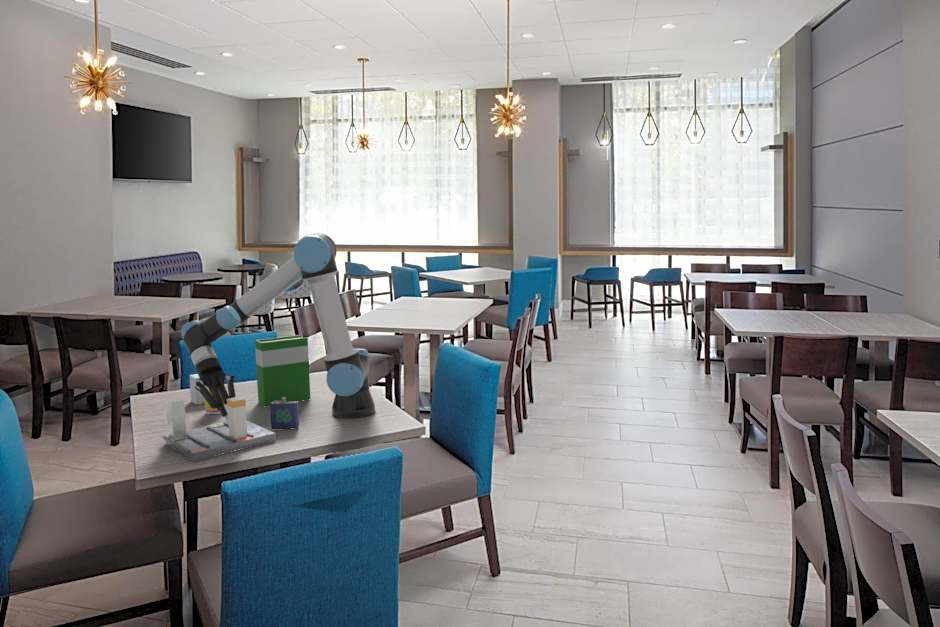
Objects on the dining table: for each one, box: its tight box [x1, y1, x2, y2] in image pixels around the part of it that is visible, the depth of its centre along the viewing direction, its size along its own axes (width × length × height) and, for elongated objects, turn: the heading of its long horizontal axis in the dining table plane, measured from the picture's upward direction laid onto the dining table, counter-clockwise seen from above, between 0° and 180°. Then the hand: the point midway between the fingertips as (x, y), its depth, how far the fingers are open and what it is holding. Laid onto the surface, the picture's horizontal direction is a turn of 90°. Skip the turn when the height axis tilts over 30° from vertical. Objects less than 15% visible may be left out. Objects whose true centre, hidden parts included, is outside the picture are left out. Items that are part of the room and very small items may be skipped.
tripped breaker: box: [227, 396, 247, 439], centre depth 227 cm, size 4×4×12 cm
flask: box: [269, 397, 300, 430], centre depth 243 cm, size 9×3×11 cm, turn 95°
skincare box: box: [188, 373, 205, 405], centre depth 278 cm, size 10×6×10 cm, turn 131°
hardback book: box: [254, 334, 311, 408], centre depth 275 cm, size 18×7×24 cm, turn 124°
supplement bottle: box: [204, 386, 225, 415], centre depth 262 cm, size 7×7×13 cm
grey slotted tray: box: [162, 397, 277, 462], centre depth 229 cm, size 23×27×15 cm
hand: (232, 423), depth 229 cm, fingers closed
